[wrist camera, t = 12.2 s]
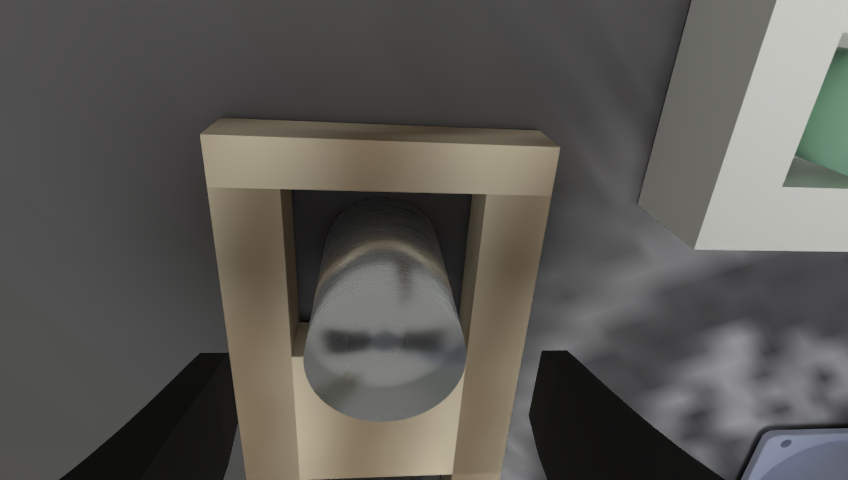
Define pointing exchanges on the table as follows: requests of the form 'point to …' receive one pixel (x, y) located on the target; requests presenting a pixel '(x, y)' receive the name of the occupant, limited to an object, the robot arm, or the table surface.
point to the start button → (829, 119)
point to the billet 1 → (383, 316)
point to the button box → (748, 129)
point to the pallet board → (286, 337)
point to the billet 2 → (383, 478)
